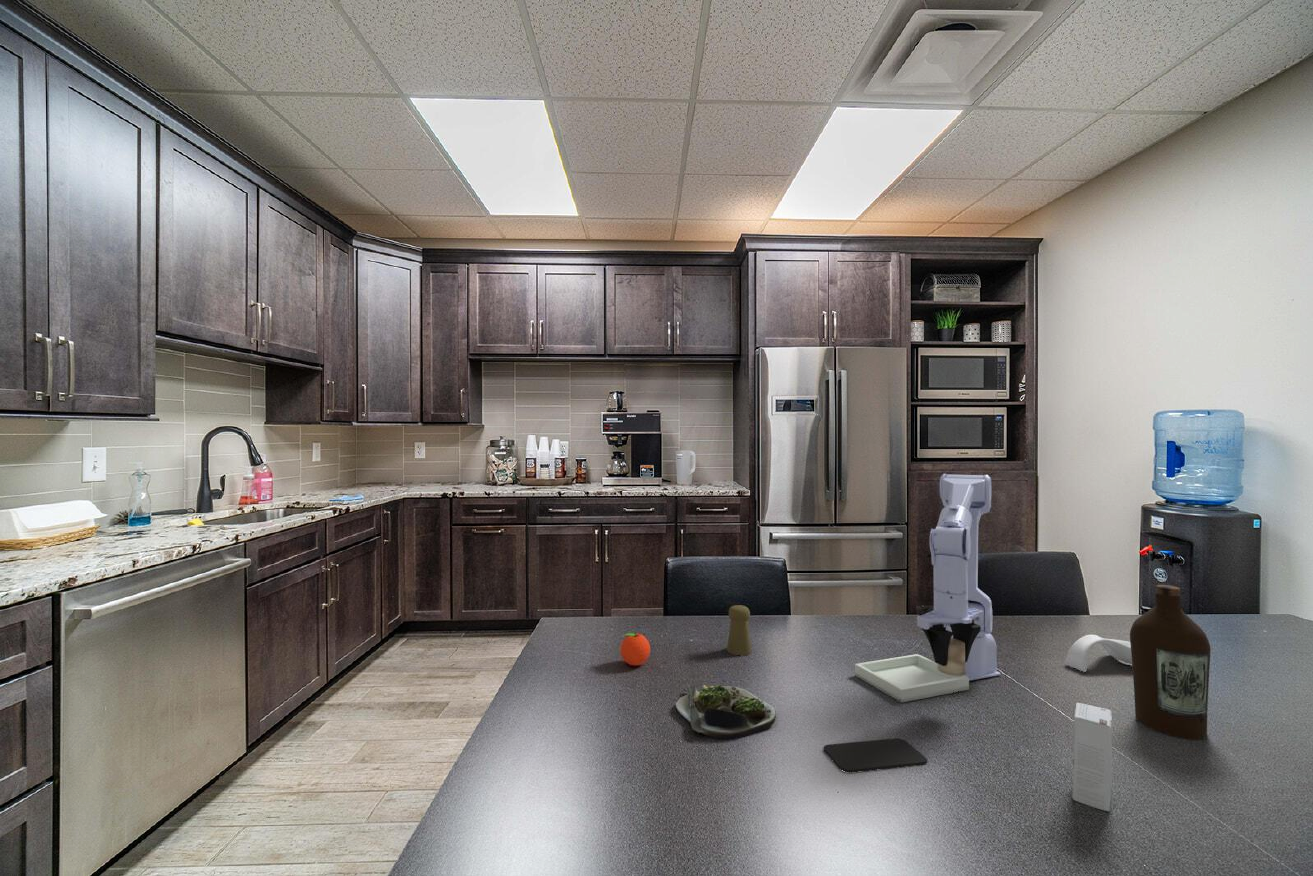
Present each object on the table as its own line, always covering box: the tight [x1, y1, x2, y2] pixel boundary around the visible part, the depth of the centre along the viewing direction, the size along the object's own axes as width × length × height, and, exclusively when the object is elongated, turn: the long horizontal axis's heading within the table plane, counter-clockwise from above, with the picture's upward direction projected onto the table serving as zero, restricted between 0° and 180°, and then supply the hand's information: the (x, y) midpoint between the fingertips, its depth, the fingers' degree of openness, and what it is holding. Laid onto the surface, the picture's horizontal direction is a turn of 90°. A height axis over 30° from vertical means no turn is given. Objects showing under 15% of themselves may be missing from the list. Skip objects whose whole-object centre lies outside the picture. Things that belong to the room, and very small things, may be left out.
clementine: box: [619, 632, 651, 667], centre depth 126 cm, size 8×7×7 cm
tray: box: [854, 653, 970, 703], centre depth 117 cm, size 18×14×2 cm
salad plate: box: [675, 684, 777, 740], centre depth 104 cm, size 19×18×5 cm
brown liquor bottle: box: [1129, 584, 1211, 740], centre depth 99 cm, size 11×11×25 cm
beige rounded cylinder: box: [938, 638, 965, 676], centre depth 104 cm, size 5×5×6 cm
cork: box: [726, 604, 753, 656], centre depth 134 cm, size 6×6×11 cm
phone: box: [823, 737, 928, 774], centre depth 89 cm, size 7×1×15 cm
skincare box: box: [1071, 702, 1113, 812], centre depth 78 cm, size 6×4×12 cm
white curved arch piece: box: [1064, 634, 1132, 673], centre depth 126 cm, size 24×12×7 cm, turn 104°
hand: (951, 662), depth 104 cm, fingers closed on beige rounded cylinder, 5 cm apart
